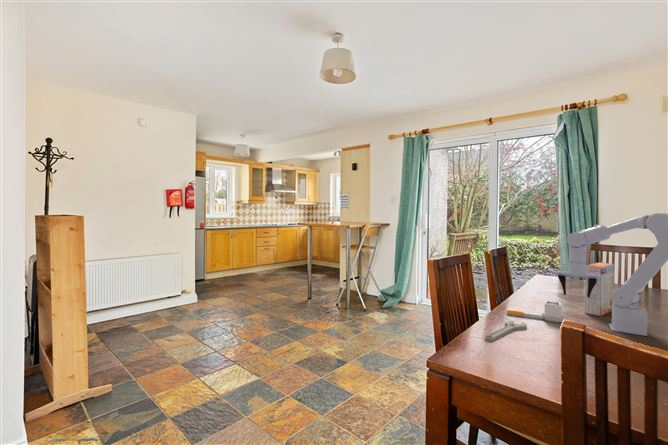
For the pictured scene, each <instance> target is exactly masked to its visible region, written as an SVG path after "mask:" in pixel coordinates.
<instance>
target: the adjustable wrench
mask: <svg viewBox="0 0 668 445" xmlns="http://www.w3.org/2000/svg"><path fill="white" fill-rule="evenodd" d="M514 322H515V321H514V320H508V321H506V322H504V327H502V328H500V329H497V330H495V331H493V332H490V333H489V334H488V333H487V334H486V335H485V336H484V340H485V341H487V342H494V341H497V340H499V339H500V338H502V337H504V336H505V335H507V334H510V333H511V332H514V331H522V330H526V329H528V325H527V324H528V323H525V322H521V323H514Z"/></svg>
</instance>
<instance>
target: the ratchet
mask: <svg viewBox="0 0 668 445" xmlns="http://www.w3.org/2000/svg"><path fill="white" fill-rule="evenodd" d="M507 315H509V316H512V317H513V316H514V317H521V318H526V319H534V320H539V321H544V322H545V323H546V322H547V323H551V324H557V323H559V324H562V323H561V322H562V321H563V322H564V316H562V315H561V319H560V318H553V317H546V316H544V312H543V313H537V312H536V313H535V312H530V311H529V312H528V311H524V310H523V309H516V308H506V316H507ZM559 324H558V325H559Z"/></svg>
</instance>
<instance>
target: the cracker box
mask: <svg viewBox="0 0 668 445" xmlns="http://www.w3.org/2000/svg"><path fill="white" fill-rule="evenodd" d="M614 270H615V264H614V263H609V262H608V263H607V262H595V263H591V264H586V273H590V274H599V275H600V280H597V283H596V284H595V286H594V287H593V289H592V291H591V294H590V298H588V297H587V290H588V279H585V283H584V284H585V288H584V292H585V293H584V294H585V296H584V297H585V298H584V299H585V301H584V308H585V309H584V313H585V314H587V315H591V316H597V317H604V316H605V315H607V314H610V313H612V303H613V301H612V300H611V293H612V292H613V291H614V284H615V283H614V280H615V279H614V278H615V277H614V276H615V275H614V273H615V271H614Z"/></svg>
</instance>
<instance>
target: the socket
mask: <svg viewBox="0 0 668 445" xmlns="http://www.w3.org/2000/svg"><path fill="white" fill-rule="evenodd" d="M543 313H544V316H546V317H553V318H560V319H561V316H562V302H560V301H559V302H558V301H551V300H544V312H543Z"/></svg>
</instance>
